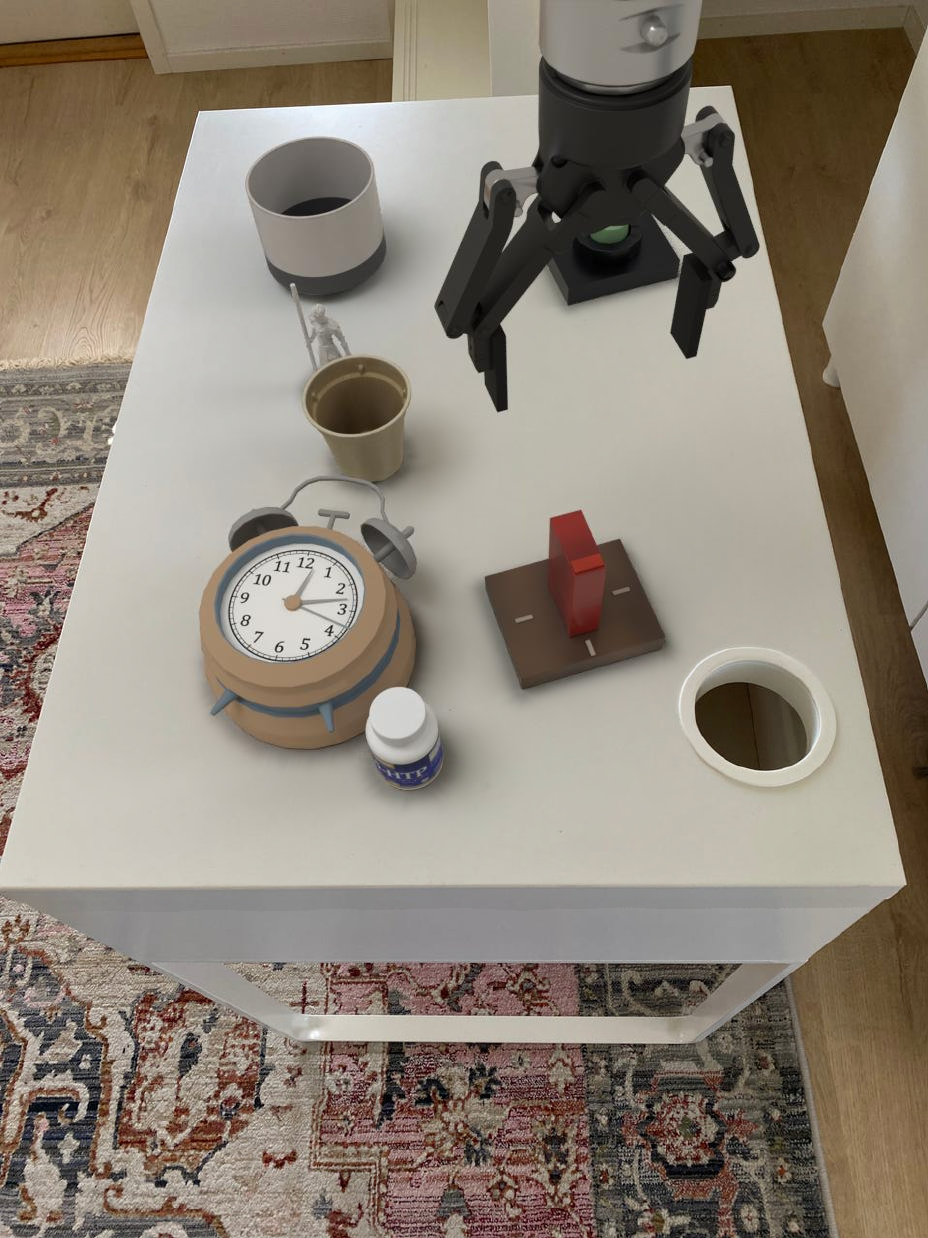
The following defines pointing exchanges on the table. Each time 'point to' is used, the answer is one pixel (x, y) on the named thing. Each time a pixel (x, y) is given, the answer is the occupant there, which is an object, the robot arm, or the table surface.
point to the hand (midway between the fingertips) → (590, 370)
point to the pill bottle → (404, 739)
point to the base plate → (541, 630)
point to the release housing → (615, 262)
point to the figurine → (321, 333)
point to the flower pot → (360, 413)
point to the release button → (611, 234)
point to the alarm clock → (307, 624)
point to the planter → (317, 214)
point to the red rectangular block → (575, 572)
